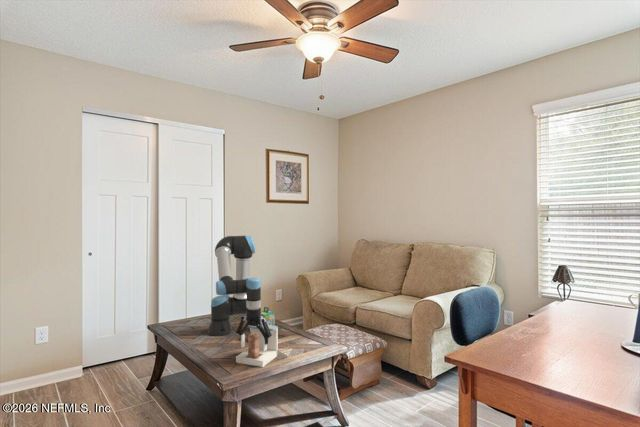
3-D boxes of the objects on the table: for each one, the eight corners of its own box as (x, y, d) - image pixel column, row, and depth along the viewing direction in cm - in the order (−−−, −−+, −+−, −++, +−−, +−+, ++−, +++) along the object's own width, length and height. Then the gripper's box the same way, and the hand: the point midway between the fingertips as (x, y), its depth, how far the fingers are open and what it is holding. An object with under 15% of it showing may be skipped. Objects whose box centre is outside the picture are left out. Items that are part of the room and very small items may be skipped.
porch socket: (235, 362, 187) (235, 331, 187) (252, 351, 202) (252, 322, 202) (262, 367, 182) (262, 335, 182) (277, 355, 196) (277, 326, 196)
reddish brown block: (248, 362, 187) (248, 335, 188) (252, 359, 191) (252, 333, 191) (254, 363, 186) (254, 336, 186) (259, 360, 190) (258, 333, 190)
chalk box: (255, 329, 240) (255, 307, 240) (266, 326, 247) (266, 305, 247) (264, 332, 234) (264, 310, 234) (275, 329, 241) (275, 307, 241)
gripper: (229, 307, 190) (229, 348, 190) (270, 312, 181) (271, 354, 181) (237, 304, 197) (237, 343, 197) (278, 308, 188) (278, 349, 188)
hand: (253, 348), depth 189 cm, fingers open, 13 cm apart
